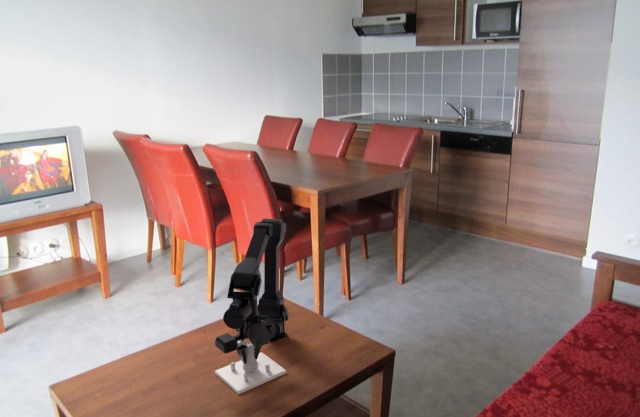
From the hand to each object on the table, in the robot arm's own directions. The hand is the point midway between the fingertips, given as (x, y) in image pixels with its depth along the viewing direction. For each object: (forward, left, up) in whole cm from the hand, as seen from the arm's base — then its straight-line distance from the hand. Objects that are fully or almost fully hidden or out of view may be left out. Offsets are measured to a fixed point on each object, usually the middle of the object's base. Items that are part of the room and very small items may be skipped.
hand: (250, 361), depth 156 cm
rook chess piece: (0, 0, -3) cm, 3 cm away
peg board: (0, 0, -4) cm, 4 cm away
